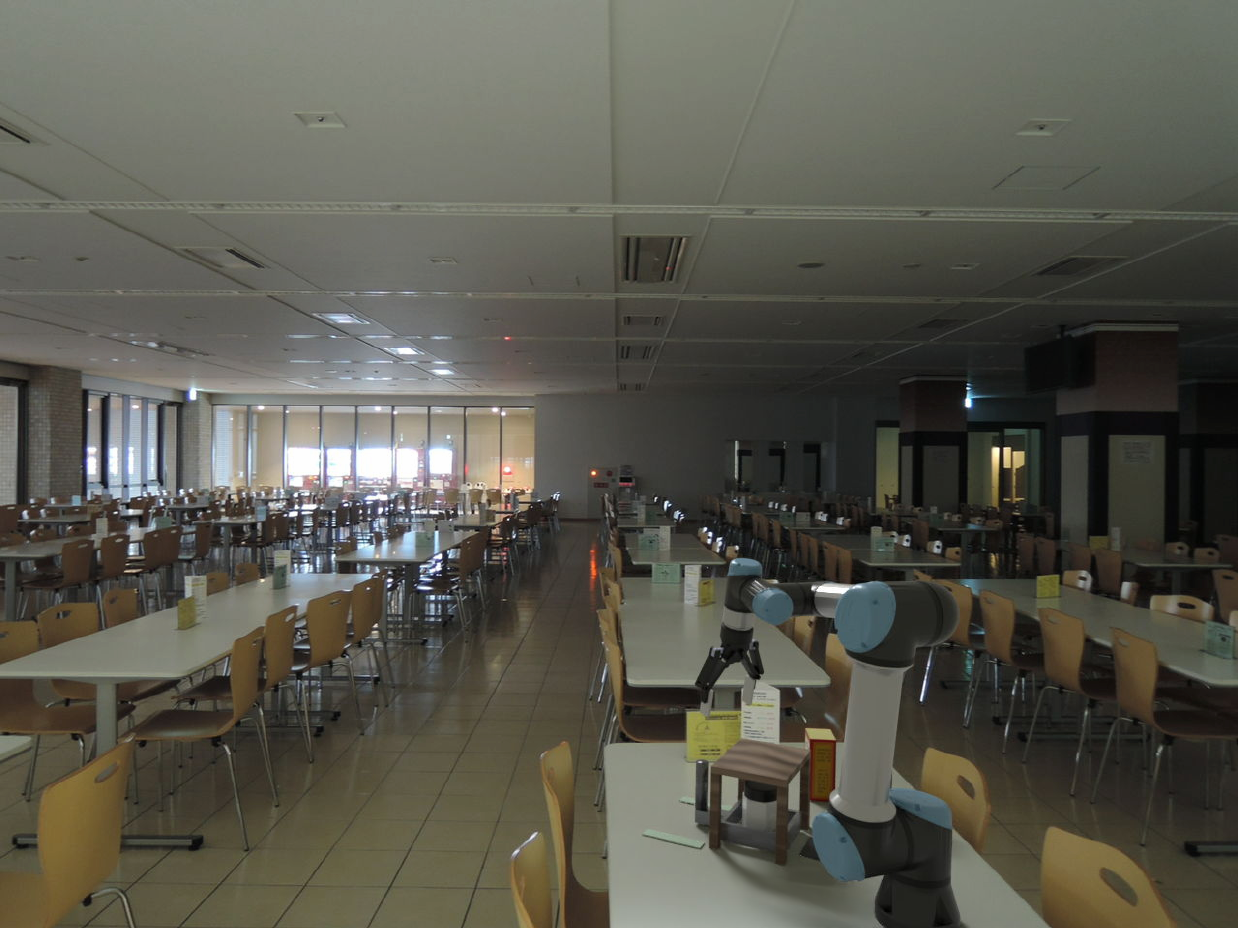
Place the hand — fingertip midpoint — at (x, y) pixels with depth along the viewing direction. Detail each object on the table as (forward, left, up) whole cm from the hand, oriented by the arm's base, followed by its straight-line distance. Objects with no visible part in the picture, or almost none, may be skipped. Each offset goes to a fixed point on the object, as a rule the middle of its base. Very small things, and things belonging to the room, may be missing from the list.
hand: (726, 708), depth 196 cm
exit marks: (-3, +7, -27) cm, 28 cm away
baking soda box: (+29, -16, -27) cm, 43 cm away
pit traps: (-3, -27, -27) cm, 38 cm away
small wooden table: (-3, -10, -27) cm, 29 cm away
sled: (-3, -6, -26) cm, 27 cm away
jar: (-3, -10, -27) cm, 29 cm away
